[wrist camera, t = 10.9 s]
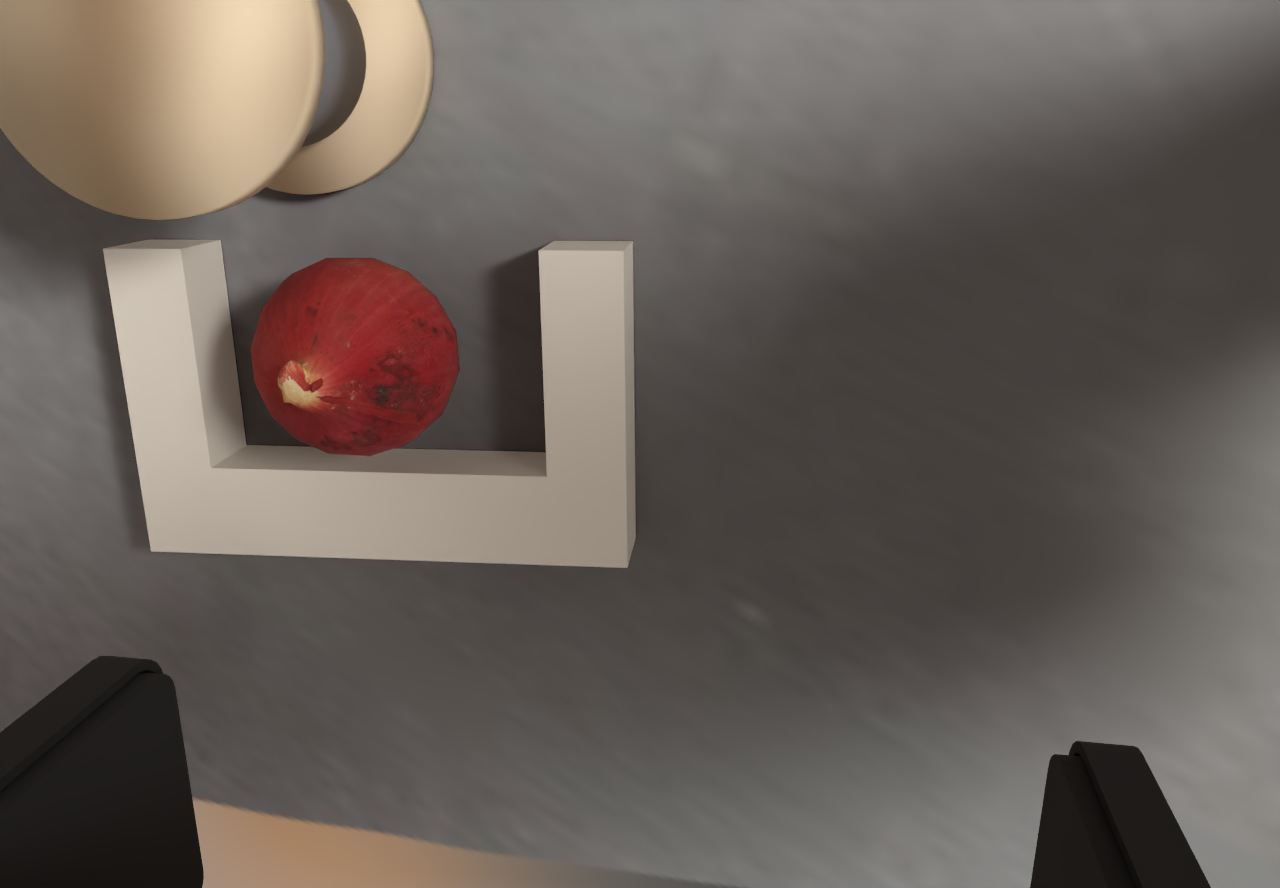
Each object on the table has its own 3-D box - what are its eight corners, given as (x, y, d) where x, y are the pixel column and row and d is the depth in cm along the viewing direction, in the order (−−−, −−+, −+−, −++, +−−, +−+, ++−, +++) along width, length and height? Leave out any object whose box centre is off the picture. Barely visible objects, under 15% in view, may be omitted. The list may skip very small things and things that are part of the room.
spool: (424, -90, 30) (286, -178, 21) (442, 192, 33) (325, 220, 24) (164, -83, 31) (-76, -165, 22) (199, 192, 34) (-4, 219, 25)
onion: (508, 285, 33) (436, 335, 26) (452, 443, 35) (370, 532, 28) (339, 215, 33) (217, 245, 26) (292, 377, 35) (165, 449, 28)
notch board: (632, 241, 33) (623, 250, 30) (635, 537, 36) (627, 568, 33) (147, 239, 34) (102, 248, 32) (189, 523, 37) (151, 551, 35)
